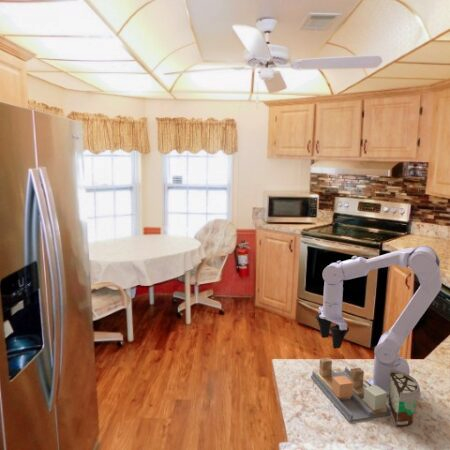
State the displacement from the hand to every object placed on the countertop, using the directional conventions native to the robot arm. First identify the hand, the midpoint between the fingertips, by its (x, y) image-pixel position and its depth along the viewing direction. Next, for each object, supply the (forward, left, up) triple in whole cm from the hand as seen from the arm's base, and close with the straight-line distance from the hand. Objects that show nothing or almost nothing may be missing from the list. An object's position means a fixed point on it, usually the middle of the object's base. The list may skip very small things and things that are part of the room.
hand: (330, 342), depth 122 cm
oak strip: (+4, +10, -10) cm, 14 cm away
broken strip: (-2, +17, -10) cm, 20 cm away
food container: (-8, +25, -10) cm, 28 cm away
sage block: (-2, +21, -8) cm, 23 cm away
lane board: (+1, +13, -10) cm, 16 cm away
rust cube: (+4, +15, -8) cm, 17 cm away
